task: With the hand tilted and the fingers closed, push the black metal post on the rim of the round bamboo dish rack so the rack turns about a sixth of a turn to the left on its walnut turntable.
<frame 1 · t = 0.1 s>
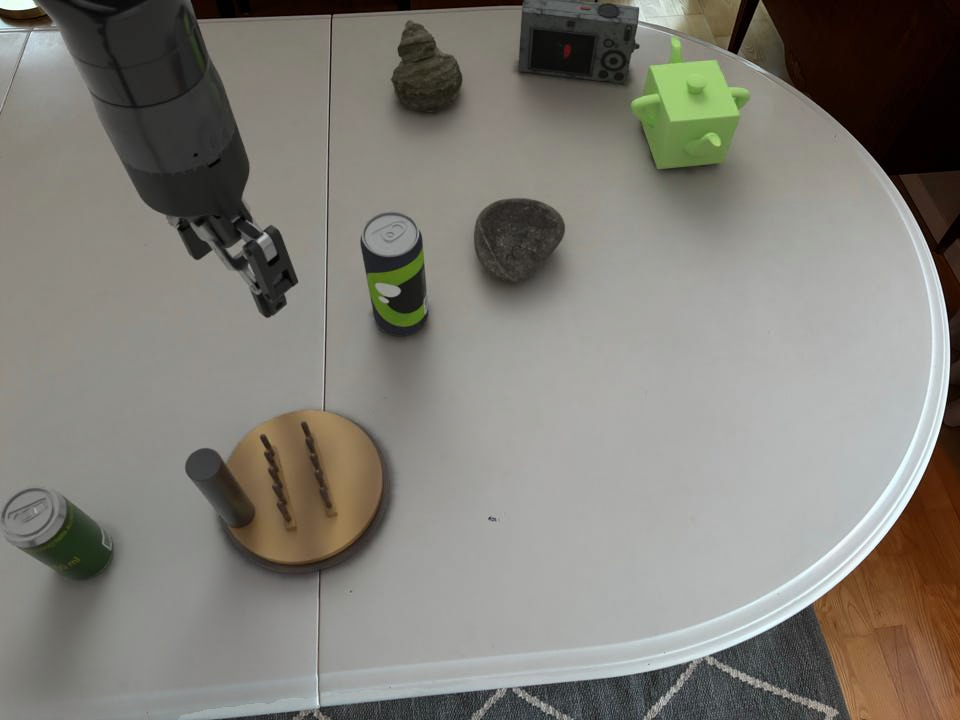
hand: (238, 280, 64), 25 cm above the table, tool pointing down, fingers open, 8 cm apart
dish rack: (290, 459, 74), point 8 cm above the table, hinge at 0.0°
stone: (517, 254, 96), on the table
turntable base: (305, 490, 81), on the table
beer can: (88, 555, 77), on the table
beverage can: (401, 317, 92), on the table
camera: (575, 71, 113), on the table
seashell: (427, 102, 110), on the table
teapot: (677, 145, 106), on the table
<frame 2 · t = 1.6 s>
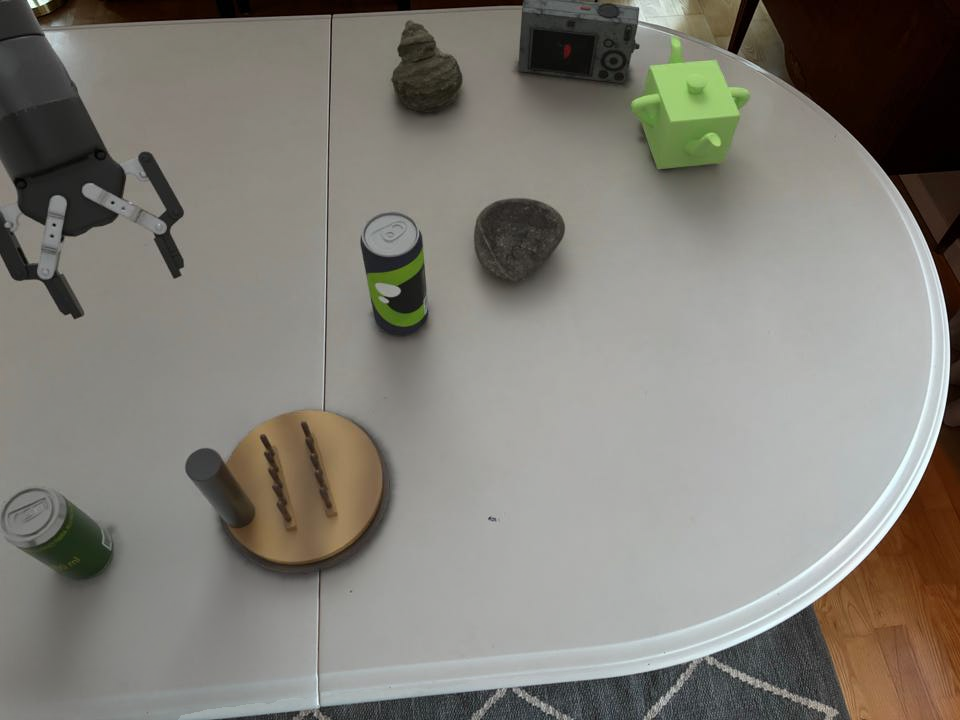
hand: (129, 296, 68), 21 cm above the table, tool tilted 45°, fingers open, 8 cm apart
nothing on the table moved.
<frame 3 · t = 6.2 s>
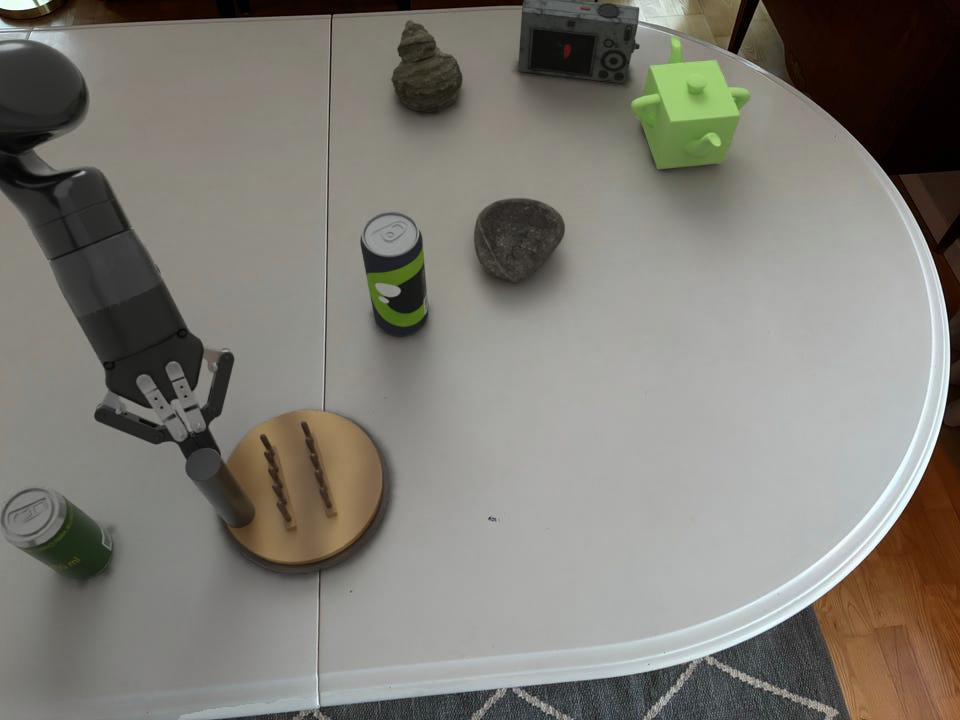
hand: (211, 468, 72), 9 cm above the table, tool tilted 45°, fingers closed
dish rack: (290, 459, 74), point 8 cm above the table, hinge at 0.0°, touching gripper
everything else where it was.
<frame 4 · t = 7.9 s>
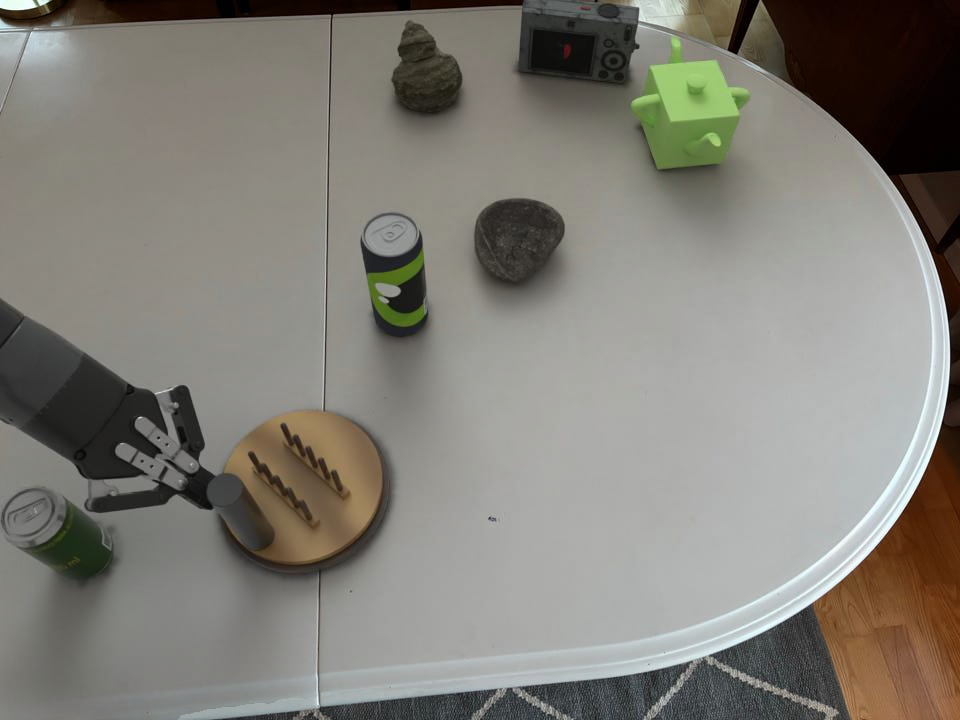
hand: (221, 500, 70), 9 cm above the table, tool tilted 45°, fingers closed
dish rack: (290, 459, 74), point 8 cm above the table, hinge at 27.8°, touching gripper
everything else where it was.
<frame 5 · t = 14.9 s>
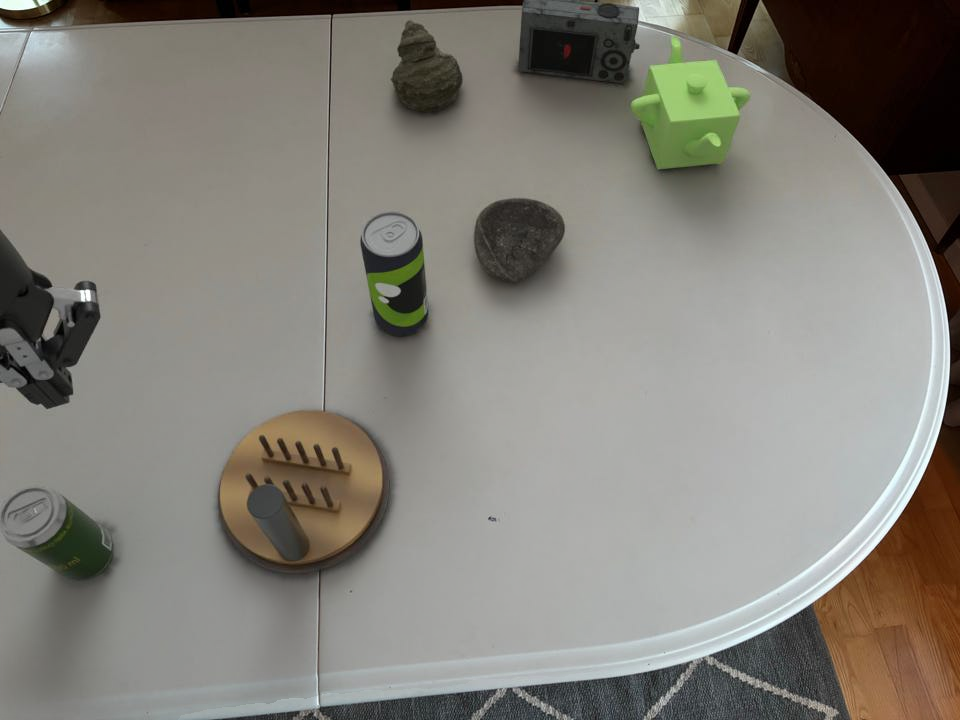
hand: (58, 395, 55), 27 cm above the table, tool pointing down, fingers closed
dish rack: (290, 459, 74), point 8 cm above the table, hinge at 60.0°
everything else where it was.
at the end: dish rack at +60° (first picture: +0°); teapot moved 0.2 cm from its start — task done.
